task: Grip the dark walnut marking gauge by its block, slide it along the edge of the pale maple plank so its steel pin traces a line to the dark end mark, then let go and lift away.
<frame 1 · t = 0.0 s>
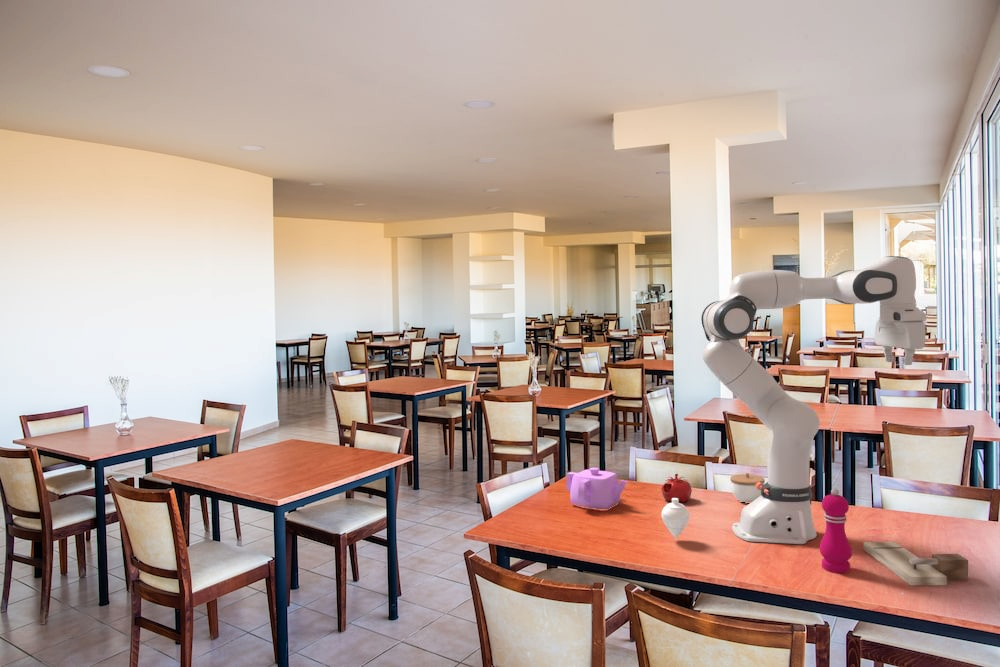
hand: (898, 363, 190), 48 cm above the table, tool pointing down, fingers open, 8 cm apart
pomegranate: (676, 501, 230), on the table
plank: (902, 566, 168), on the table
lidded jar: (747, 501, 226), on the table
teakettle: (597, 504, 228), on the table
spinning top: (676, 541, 191), on the table
gauge: (949, 577, 161), on the table
pepper mill: (835, 569, 168), on the table
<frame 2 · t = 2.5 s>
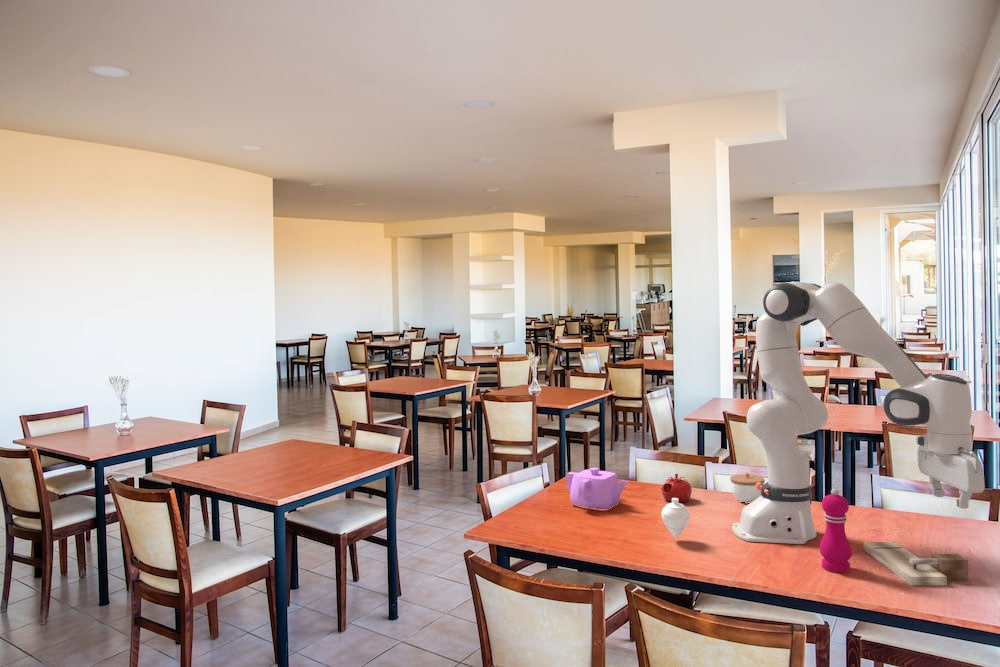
hand: (950, 501, 160), 18 cm above the table, tool pointing down, fingers open, 8 cm apart
nothing on the table moved.
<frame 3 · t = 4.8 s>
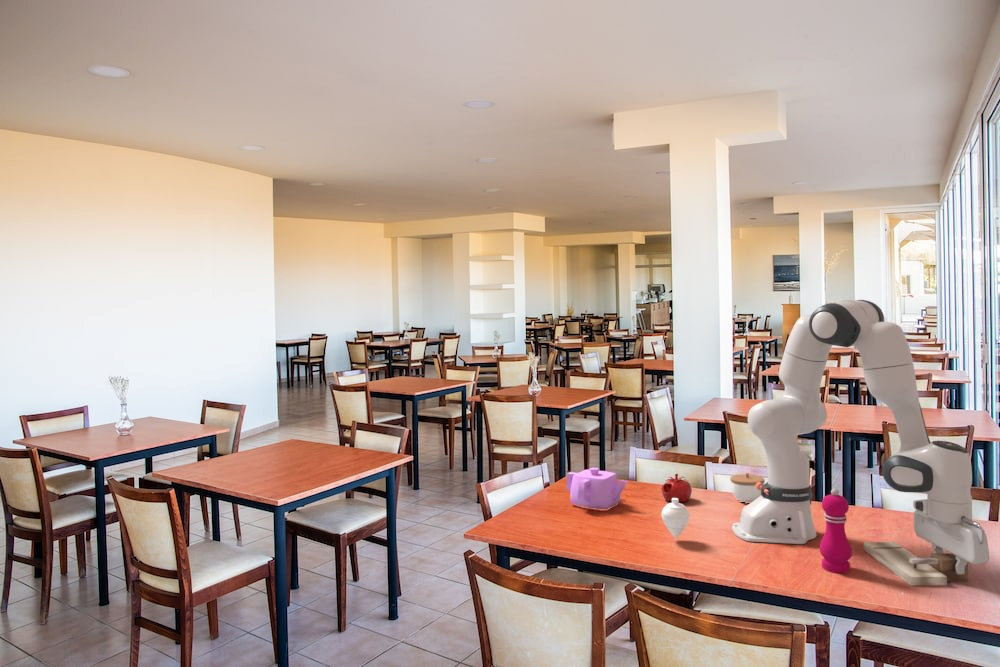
hand: (949, 568, 161), 2 cm above the table, tool pointing down, fingers closed on gauge, 4 cm apart
gauge: (949, 577, 161), on the table, touching gripper
everything else where it was.
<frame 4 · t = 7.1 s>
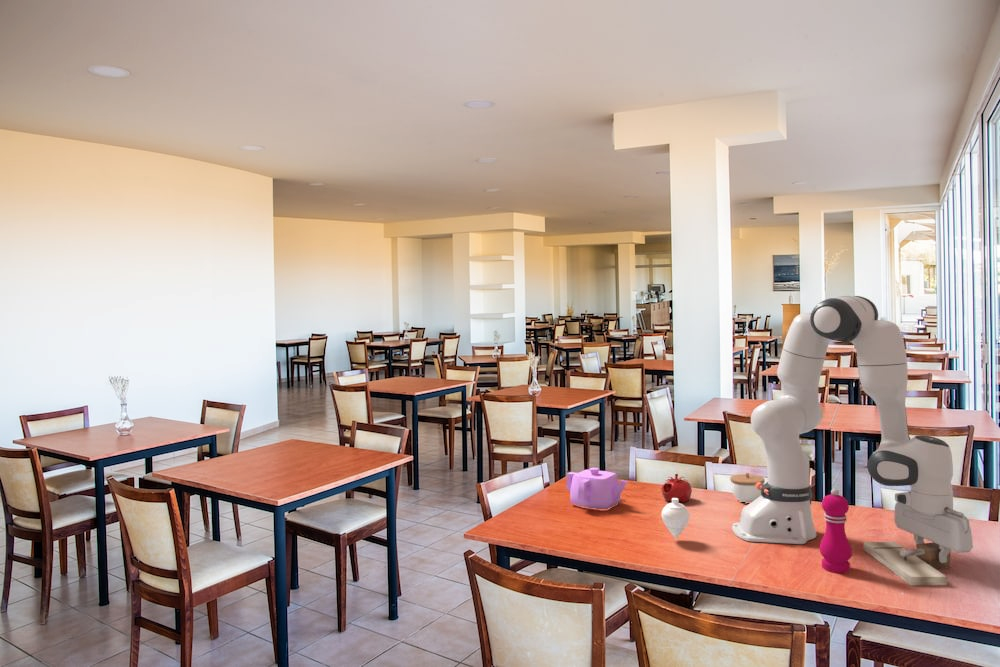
hand: (931, 557, 168), 2 cm above the table, tool pointing down, fingers open, 4 cm apart
gauge: (933, 565, 168), on the table, touching gripper
everything else where it was.
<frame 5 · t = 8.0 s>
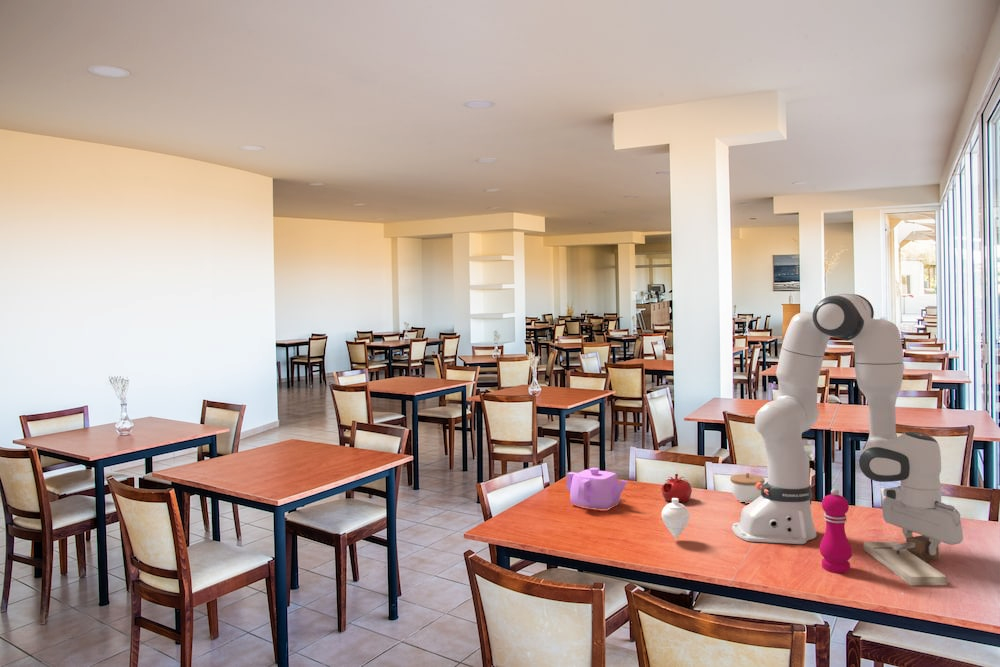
hand: (921, 550, 172), 2 cm above the table, tool pointing down, fingers closed on gauge, 4 cm apart
gauge: (922, 558, 173), on the table, touching gripper
everything else where it was.
when the fingers open (2 cm above the table, at t = 9.8 s): gauge stays where it is, on the table.
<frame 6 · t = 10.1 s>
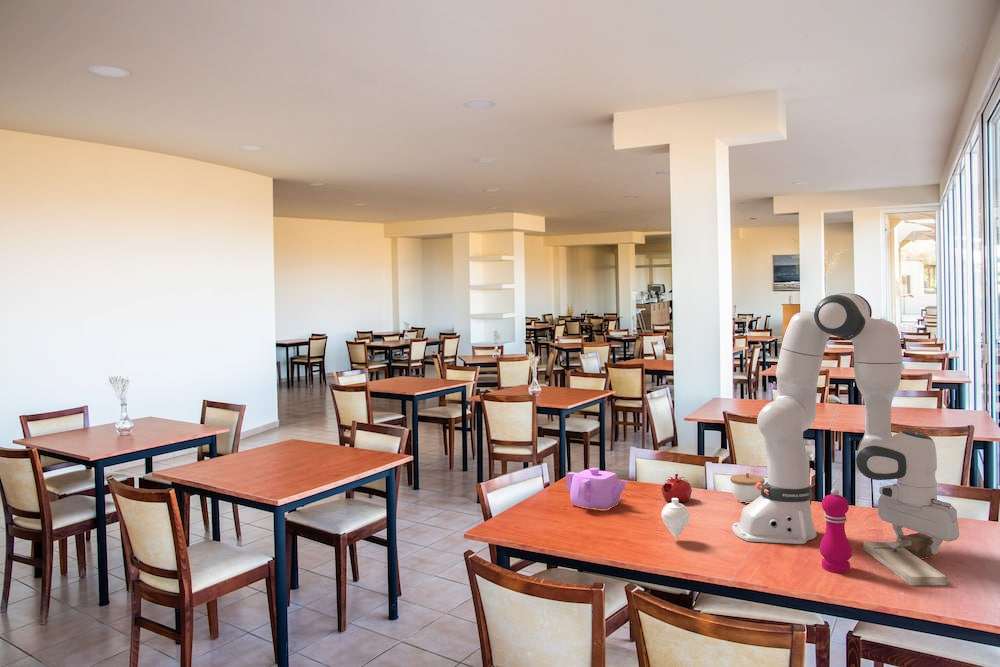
hand: (917, 547, 175), 2 cm above the table, tool pointing down, fingers open, 7 cm apart
gauge: (917, 555, 175), on the table
everything else where it was.
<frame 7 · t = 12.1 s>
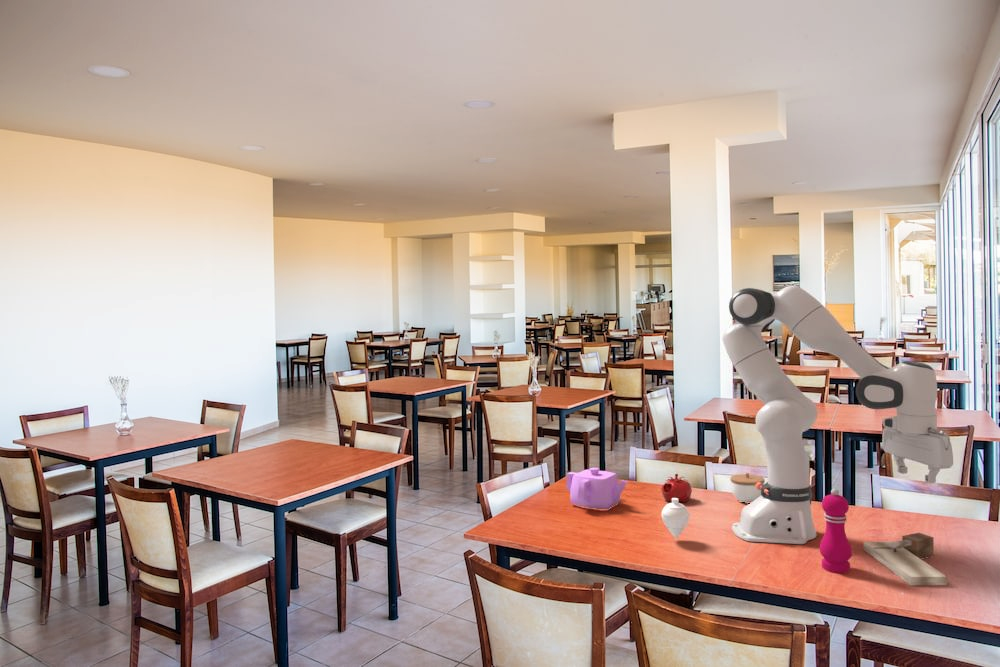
hand: (916, 477, 175), 20 cm above the table, tool pointing down, fingers open, 8 cm apart
nothing on the table moved.
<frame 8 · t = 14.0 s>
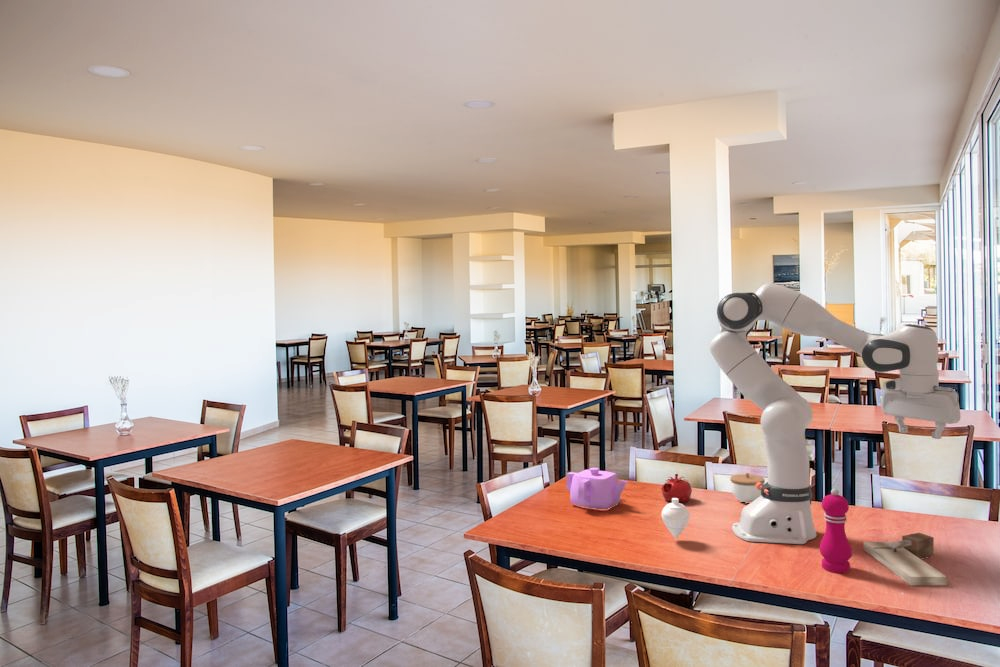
hand: (919, 435, 183), 29 cm above the table, tool pointing down, fingers open, 8 cm apart
nothing on the table moved.
at the end: gauge 0.1 cm from the target spot, on the table; gauge tilted 0°; the gripper is holding nothing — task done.
